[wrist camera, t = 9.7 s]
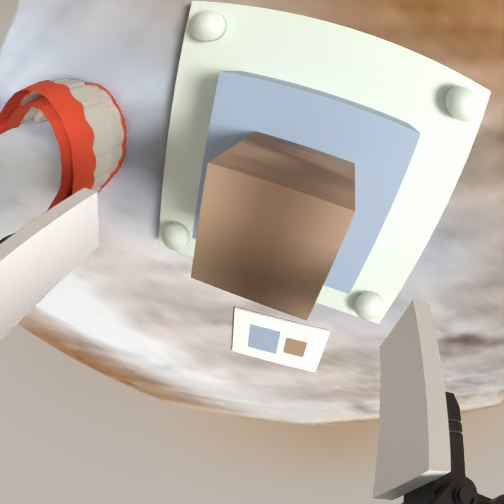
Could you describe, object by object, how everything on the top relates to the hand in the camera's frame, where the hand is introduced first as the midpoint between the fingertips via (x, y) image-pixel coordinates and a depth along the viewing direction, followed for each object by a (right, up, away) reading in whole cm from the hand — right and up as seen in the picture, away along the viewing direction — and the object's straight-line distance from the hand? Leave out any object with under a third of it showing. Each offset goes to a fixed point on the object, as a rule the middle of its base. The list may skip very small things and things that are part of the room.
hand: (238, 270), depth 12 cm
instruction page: (+3, -9, +22) cm, 24 cm away
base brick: (+4, +7, +11) cm, 13 cm away
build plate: (+4, +7, +12) cm, 14 cm away
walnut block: (+3, +4, +7) cm, 9 cm away
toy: (-15, +13, +15) cm, 25 cm away
